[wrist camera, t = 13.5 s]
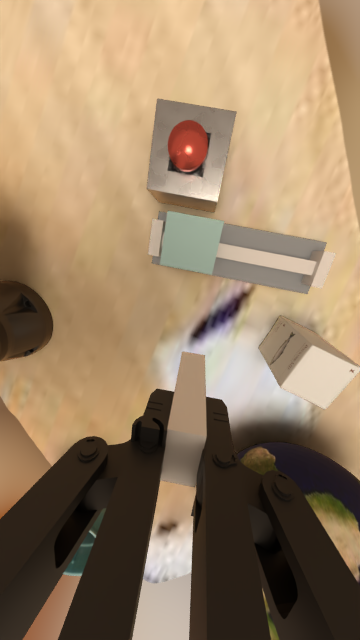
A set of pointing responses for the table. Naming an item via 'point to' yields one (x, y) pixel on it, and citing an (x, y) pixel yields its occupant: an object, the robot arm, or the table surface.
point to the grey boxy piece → (206, 188)
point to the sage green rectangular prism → (190, 242)
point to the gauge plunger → (188, 147)
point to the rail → (261, 245)
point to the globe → (316, 495)
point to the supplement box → (306, 363)
